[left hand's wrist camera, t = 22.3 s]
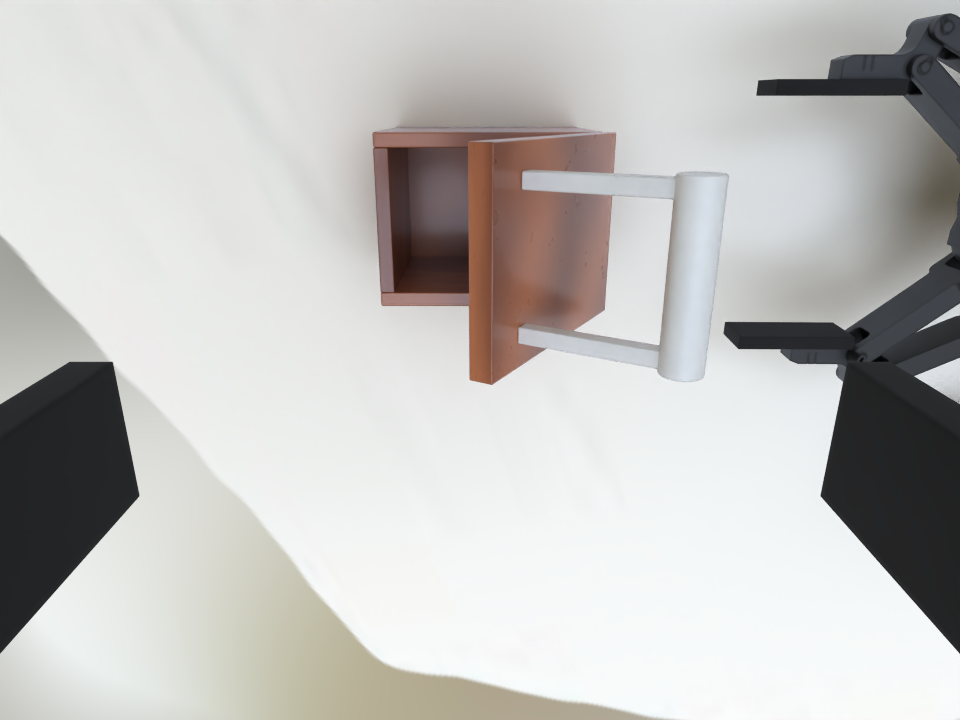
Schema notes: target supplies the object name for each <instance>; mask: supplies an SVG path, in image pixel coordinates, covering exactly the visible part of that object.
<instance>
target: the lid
mask: <svg viewBox="0 0 960 720" xmlns="http://www.w3.org/2000/svg"><path fill="white" fill-rule="evenodd" d="M615 143H616V133H614V132H593V133H579V134H565V135H551V136H537V137H522V138H508V139H494V140H480V141H469V142H468V199H469V357H470V380H472V381H477V382H481V383H486V384H490V385H493V384H494V383H496V382H497V381H499V380H500V379H502V378H503V377H505V376H506V375H508V374H509V373H511V372H512V371H514V370H515V369H517V368H518V367H520V366H521V365H523V364H524V363H526V362H527V361H529V360H530V359H532V358H533V357H535V356H536V355H538V354H539V353H541V352H542V351H544V350H545V349H552V350H557V351H563V352H568V353H574V354H579V355H585V356H590V357H596V358H601V359H606V360H612V361H617V362H623V363H628V364H634V365H639V366H645V367H650V368H656V369H657V372H658V374H659V375H660V376H662V377H664V378H666V379H669V380H673V381H680V382H693V381H698V380H701V379H702V378H703V377H704V374H705V365H706V357H707V349H708V341H709V333H710V325H711V316H712V308H713V300H714V292H715V284H716V276H717V267H718V259H719V251H720V243H721V235H722V227H723V218H724V210H725V202H726V194H727V186H728V178H729V176H728V174H725V173H718V172H680V173H677V174H676V176H657V175H635V174H614V159H615ZM612 195H613V196H629V197H646V198H662V199H674V201H673V212H672V222H671V232H670V243H669V253H668V264H667V274H666V284H665V295H664V305H663V315H662V326H661V336H660V346H659V345H653V344H647V343H641V342H635V341H629V340H623V339H617V338H611V337H605V336H599V335H593V334H587V333H581V332H575V331H574V330H575V329H577V328H578V327H580V326H581V325H583V324H584V323H586V322H587V321H589V320H590V319H592V318H593V317H595V316H596V315H598V314H599V313H601V312H602V311H604V310H605V296H606V281H607V266H608V250H609V235H610V220H611V204H612Z"/></svg>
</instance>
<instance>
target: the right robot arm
mask: <svg viewBox="0 0 960 720" xmlns="http://www.w3.org/2000/svg"><path fill="white" fill-rule="evenodd" d="M906 37H907V39H906V41H905V43H904V45H903V46H902V48H901V49H900V50H899V51H898V52H897V53H895V54H893V55H847V56H841V57H838V58H836V59H833V60H831V64H830V69H829V75H828V79H775V80H759V81H758V88H757V95H756V96H892V95H903V96H904V97H905V98H906V99H907V100H908V101H909V102H910V103H911V104H912V106H913V107H914V108H915V109H916V110H917V111H918V112H919V113H920V114H921V116H922V117H923V118H924V119H925V120H926V121H927V122H928V123H929V124H930V126H931V127H932V128H933V129H934V130H935V131H936V132H937V133H938V134H939V136H940V137H941V138H942V139H943V140H944V141H945V142H946V143H947V144H948V146H949V147H950V148H951V149H952V150H953V151H954V152H955V153H956V155H957V156H958V157H957V161H958V162H959V163H960V86H959V85H958V84H957V82H956V81H955V80H954V79H953V78H952V77H951V76H950V74H949V73H948V72H947V71H946V70H945V69H944V67H943V66H942V65H941V64H940V63H939V62H938V61H937V60H939V61H941V62H942V63H944V64H945V65H947V66H949V67H950V68H952V69H954V70H955V71H957V72H958V73H960V18H959V17H958V16H956V15H954V14H951V13H950V14H943V15H937V16H932V17H927V18H922V19H917V20H915V21H913V22H912V23H911V24H910V25H909V26H908V28H907V31H906ZM957 213H958V216H957V219H956V221H955V223H954V225H953V227H952V229H951V231H950V234H949V238H948V242H947V244H948V245H951V246H952V253H950V254H949V255H947V256H946V257H944V258H943V259H941V260H940V261H938V262H937V263H936V264H934V265H933V266H932V267H931V268H930V269H929V273H928V274H927V275H926V276H924V277H923V278H922V279H920V280H919V281H917V282H916V283H914V284H913V285H911V286H910V287H908V288H907V289H905V290H904V291H902V292H901V293H899V294H898V295H896V296H895V297H894V298H892V299H891V300H889V301H888V302H886V303H885V304H883V305H882V306H880V307H879V308H877V309H876V310H874V311H873V312H871V313H870V314H869V315H867V316H866V317H864V318H863V319H861V320H860V321H858V322H857V323H855V324H854V325H852V326H851V327H849V328H848V329H846V330H843V329H842V328H840V327H839V326H837V325H836V324H834V323H811V322H725V327H724V335H725V336H726V337H727V338H728V339H729V340H730V341H731V342H732V343H733V344H734V345H735V346H736V347H737V348H738V349H781V353H782V354H783V355H784V356H785V357H786V358H788V359H789V360H790V361H792V362H795V363H797V364H838V367H837V370H836V375H837V377H838V378H839V379H841V380H842V381H844V376H845V371H846V366H847V362H891V363H893V364H894V365H896V366H898V367H899V368H901V369H903V370H904V371H906V372H908V373H909V374H911V375H912V376H915V375H918V374H920V373H923V372H925V371H928V370H930V369H933V368H935V367H938V366H940V365H943V364H945V363H948V362H950V361H953V360H955V359H957V358H960V316H956V317H953V318H950V319H947V320H945V321H943V322H940V323H938V324H935V325H933V326H931V327H928V328H926V329H923V330H921V331H918V330H920V329H921V328H923V327H925V326H926V325H928V324H929V323H931V322H932V321H934V320H935V319H937V318H938V317H940V316H941V315H943V314H944V313H946V312H947V311H949V310H950V309H952V308H953V307H955V306H956V305H958V304H959V303H960V194H959V198H958V202H957ZM917 331H918V332H917ZM915 332H916V333H915Z"/></svg>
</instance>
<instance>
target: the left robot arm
mask: <svg viewBox="0 0 960 720" xmlns="http://www.w3.org/2000/svg"><path fill="white" fill-rule="evenodd" d="M138 497H139V491H138V486H137V481H136V476H135V471H134V466H133V461H132V456H131V451H130V446H129V441H128V436H127V431H126V426H125V421H124V416H123V411H122V406H121V401H120V396H119V391H118V386H117V381H116V376H115V371H114V366H113V362H69V363H67V364H66V365H64V366H62V367H61V368H59V369H57V370H56V371H54V372H53V373H51V374H49V375H48V376H46V377H44V378H43V379H41V380H39V381H38V382H36V383H35V384H33V385H31V386H30V387H28V388H26V389H25V390H23V391H22V392H20V393H18V394H17V395H15V396H13V397H12V398H10V399H8V400H7V401H5V402H3V403H2V404H0V653H1V652H2V651H3V650H4V649H5V647H6V646H7V645H8V644H9V643H10V642H11V641H12V640H13V638H14V637H15V636H16V635H17V634H18V633H19V632H20V630H21V629H22V628H23V627H24V626H25V625H26V624H27V623H28V622H29V620H30V619H31V618H32V617H33V616H34V615H35V614H36V612H37V611H38V610H39V609H40V608H41V607H42V606H43V605H44V603H45V602H46V601H47V600H48V599H49V598H50V597H51V595H52V594H53V593H54V592H55V591H56V590H57V589H58V587H59V586H60V585H61V584H62V583H63V582H64V581H65V580H66V579H67V577H68V576H69V575H70V574H71V573H72V572H73V571H74V569H75V568H76V567H77V566H78V565H79V564H80V563H81V562H82V560H83V559H84V558H85V557H86V556H87V555H88V554H89V553H90V551H91V550H92V549H93V548H94V547H95V546H96V545H97V543H98V542H99V541H100V540H101V539H102V538H103V537H104V536H105V534H106V533H107V532H108V531H109V530H110V529H111V528H112V527H113V525H114V524H115V523H116V522H117V521H118V520H119V519H120V517H121V516H122V515H123V514H124V513H125V512H126V511H127V510H128V508H129V507H130V506H131V505H132V504H133V503H134V502H135V501H136V499H137V498H138ZM821 497H822V498H823V499H824V501H825V502H826V503H827V504H828V505H829V506H830V507H831V508H832V510H833V511H834V512H835V513H836V514H837V515H838V516H839V517H840V519H841V520H842V521H843V522H844V523H845V524H846V525H847V527H848V528H849V529H850V530H851V531H852V532H853V533H854V534H855V536H856V537H857V538H858V539H859V540H860V541H861V542H862V543H863V545H864V546H865V547H866V548H867V549H868V550H869V551H870V553H871V554H872V555H873V556H874V557H875V558H876V559H877V560H878V562H879V563H880V564H881V565H882V566H883V567H884V568H885V570H886V571H887V572H888V573H889V574H890V575H891V576H892V577H893V579H894V580H895V581H896V582H897V583H898V584H899V585H900V586H901V588H902V589H903V590H904V591H905V592H906V593H907V594H908V596H909V597H910V598H911V599H912V600H913V601H914V602H915V603H916V605H917V606H918V607H919V608H920V609H921V610H922V611H923V612H924V614H925V615H926V616H927V617H928V618H929V619H930V620H931V622H932V623H933V624H934V625H935V626H936V627H937V628H938V629H939V631H940V632H941V633H942V634H943V635H944V636H945V637H946V638H947V640H948V641H949V642H950V643H951V644H952V645H953V646H954V648H955V649H956V650H957V651H958V652H959V653H960V404H958V403H957V402H955V401H953V400H952V399H950V398H948V397H947V396H945V395H943V394H942V393H940V392H939V391H937V390H935V389H934V388H932V387H930V386H929V385H927V384H926V383H924V382H922V381H921V380H919V379H917V378H916V377H914V376H912V375H911V374H909V373H908V372H906V371H904V370H903V369H901V368H899V367H898V366H896V365H894V364H893V363H891V362H847V366H846V371H845V376H844V381H843V386H842V391H841V396H840V401H839V406H838V411H837V416H836V421H835V426H834V431H833V436H832V441H831V446H830V451H829V456H828V461H827V466H826V471H825V476H824V481H823V486H822V491H821Z"/></svg>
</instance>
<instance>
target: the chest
mask: <svg viewBox="0 0 960 720" xmlns="http://www.w3.org/2000/svg"><path fill="white" fill-rule="evenodd" d="M593 132H600V131H594V130H588V129H582V128H577V127H397V128H392V129H387V130H382V131H377V132H373V146H374V147H375V148H373V154H374V173H375V192H376V211H377V230H378V248H379V267H380V286H381V305H382V306H469V199H468V142H469V141H480V140H494V139H508V138H522V137H537V136H551V135H565V134H579V133H593Z"/></svg>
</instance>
